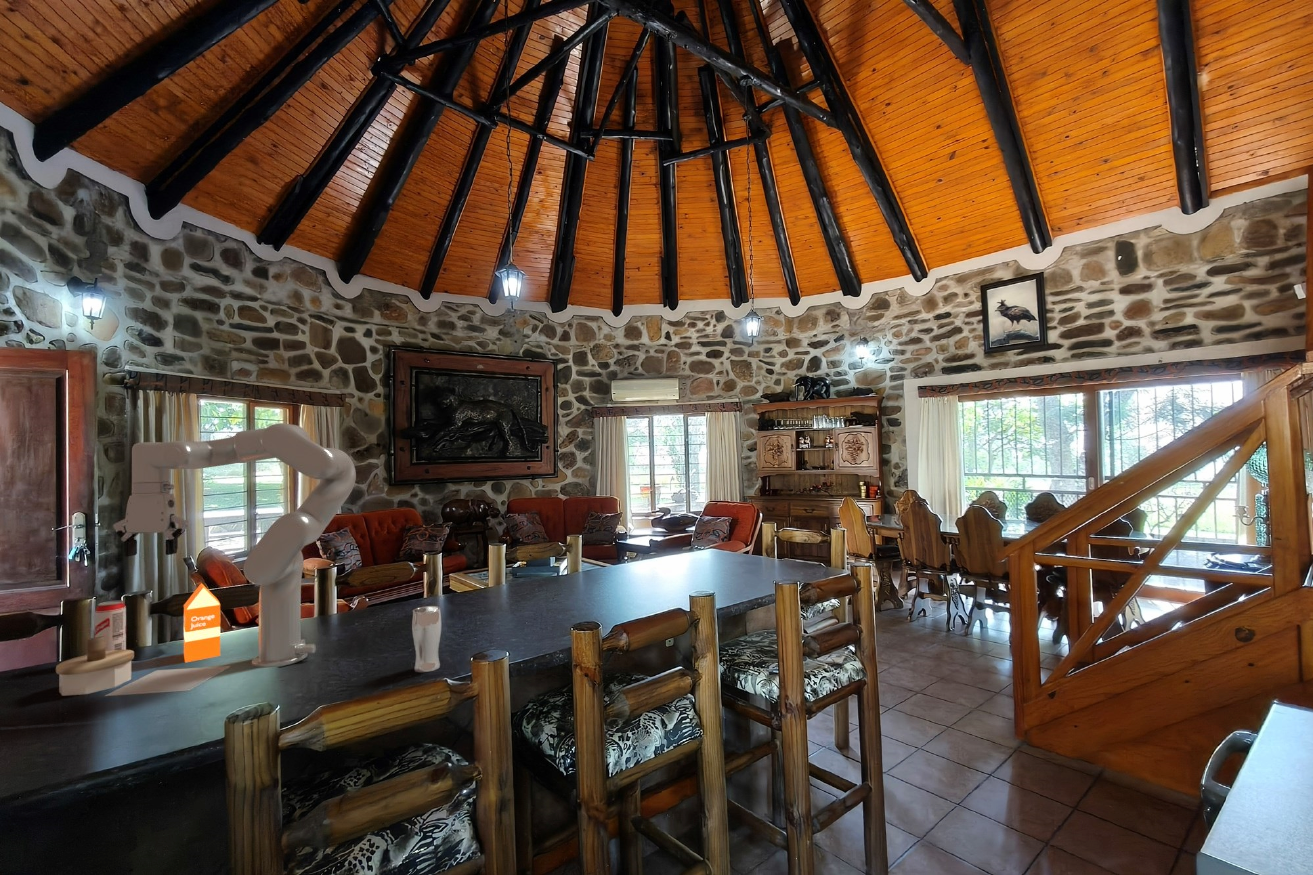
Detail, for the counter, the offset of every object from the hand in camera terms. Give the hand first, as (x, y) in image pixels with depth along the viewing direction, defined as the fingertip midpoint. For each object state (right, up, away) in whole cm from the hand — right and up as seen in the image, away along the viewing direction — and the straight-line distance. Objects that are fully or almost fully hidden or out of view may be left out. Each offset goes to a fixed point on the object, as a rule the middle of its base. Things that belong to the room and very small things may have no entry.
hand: (151, 554), depth 151 cm
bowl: (-4, -30, -10) cm, 32 cm away
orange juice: (+6, -31, +10) cm, 33 cm away
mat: (+13, -30, -9) cm, 33 cm away
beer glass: (+73, -29, -3) cm, 79 cm away
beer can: (-18, -31, +8) cm, 37 cm away
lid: (-4, -25, -10) cm, 27 cm away
